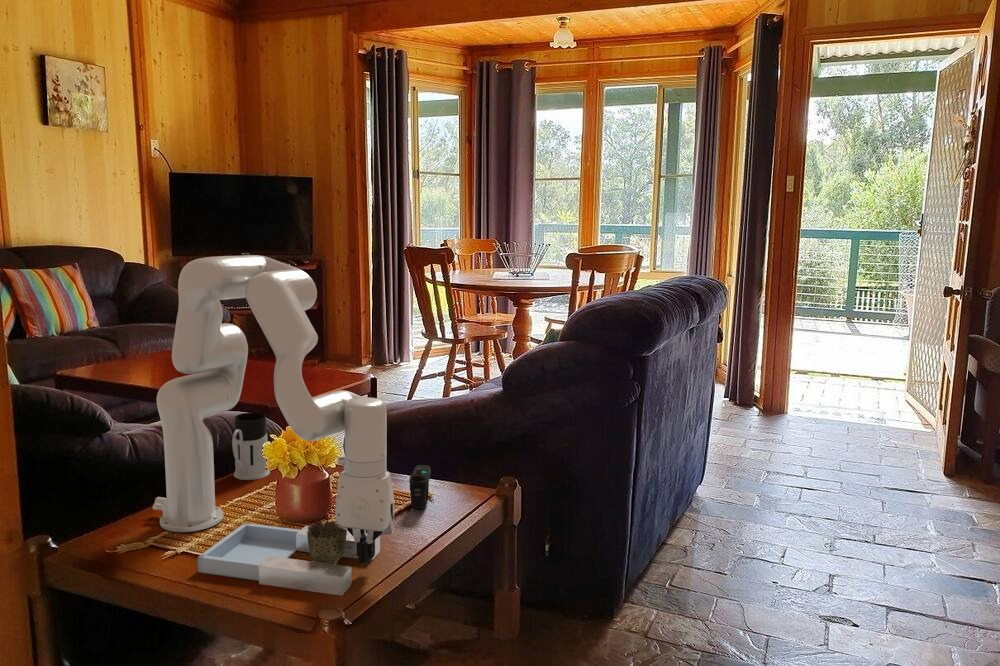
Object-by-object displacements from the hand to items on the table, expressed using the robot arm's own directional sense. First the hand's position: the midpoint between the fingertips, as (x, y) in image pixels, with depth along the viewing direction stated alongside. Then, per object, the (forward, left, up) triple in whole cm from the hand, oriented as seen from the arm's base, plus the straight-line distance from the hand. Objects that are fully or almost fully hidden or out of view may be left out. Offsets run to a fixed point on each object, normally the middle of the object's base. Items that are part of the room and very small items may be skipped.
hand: (365, 560), depth 140 cm
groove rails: (-9, 0, -3) cm, 9 cm away
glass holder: (-48, +39, -3) cm, 62 cm away
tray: (-23, 0, -3) cm, 23 cm away
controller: (-1, +34, -3) cm, 34 cm away
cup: (-8, 0, -3) cm, 8 cm away
